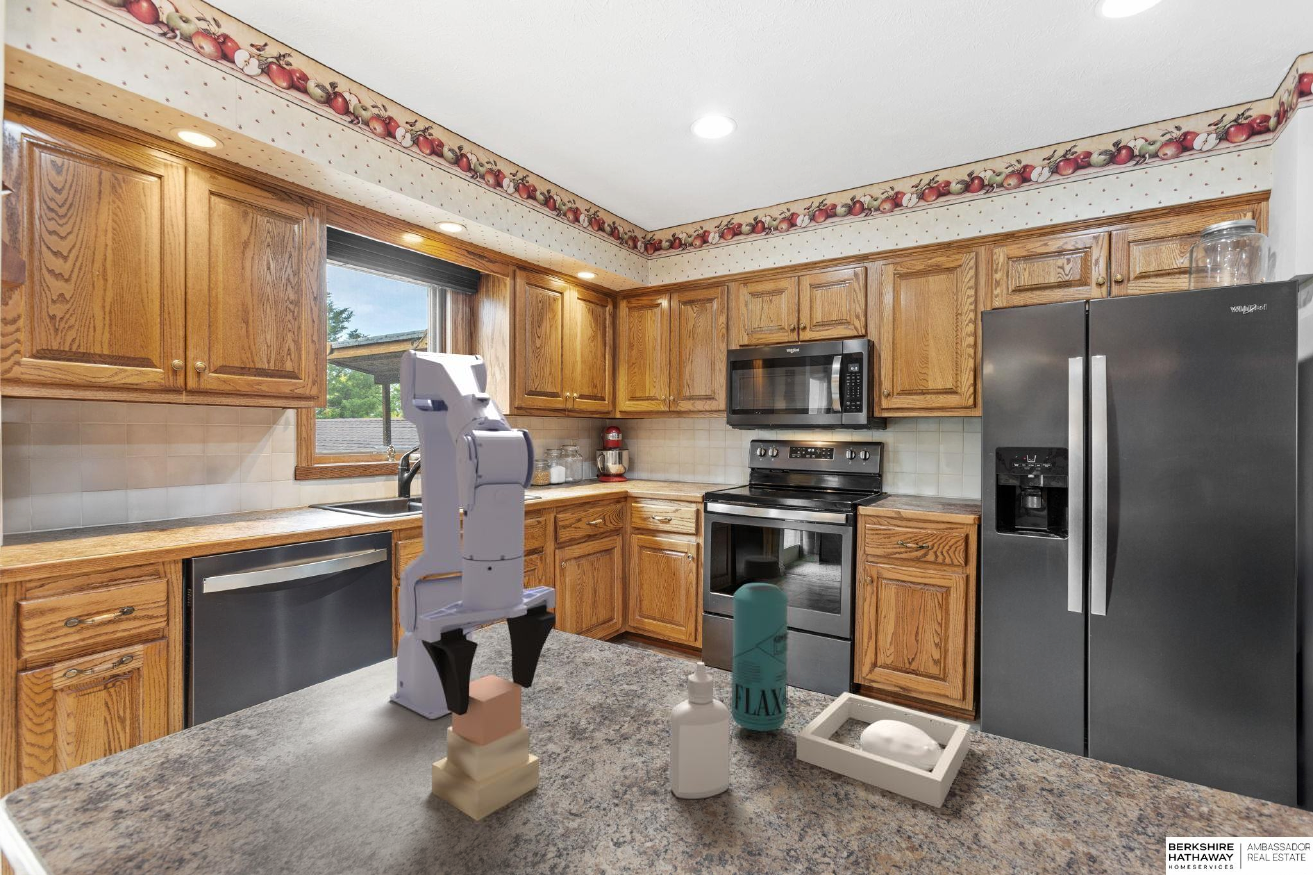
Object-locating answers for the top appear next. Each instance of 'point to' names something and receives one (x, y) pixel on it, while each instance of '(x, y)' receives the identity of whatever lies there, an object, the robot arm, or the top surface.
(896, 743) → the white rounded lump
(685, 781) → the eye dropper bottle
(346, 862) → the top surface
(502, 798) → the tower base
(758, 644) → the beverage bottle
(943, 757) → the garlic dish
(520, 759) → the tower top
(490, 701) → the terracotta block
